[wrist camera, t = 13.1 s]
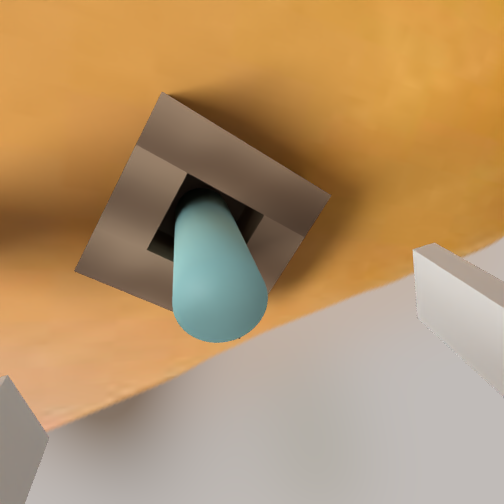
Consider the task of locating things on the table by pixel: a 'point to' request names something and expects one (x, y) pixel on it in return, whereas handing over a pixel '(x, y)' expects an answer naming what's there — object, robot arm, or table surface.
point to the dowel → (213, 271)
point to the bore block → (180, 182)
